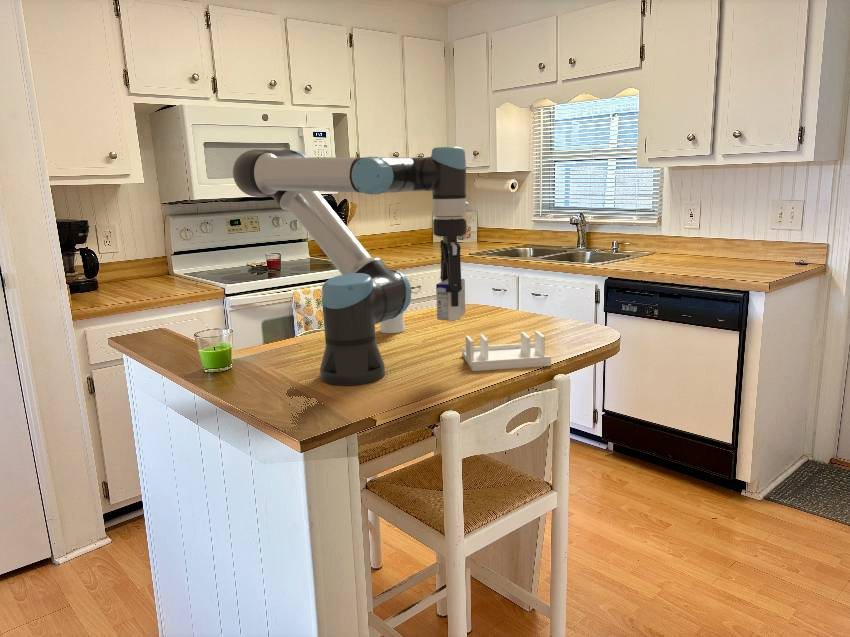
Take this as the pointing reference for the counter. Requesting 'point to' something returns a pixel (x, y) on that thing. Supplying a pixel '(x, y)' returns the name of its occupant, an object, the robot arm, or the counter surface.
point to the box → (443, 300)
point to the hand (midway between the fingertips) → (451, 315)
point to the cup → (393, 325)
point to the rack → (506, 354)
